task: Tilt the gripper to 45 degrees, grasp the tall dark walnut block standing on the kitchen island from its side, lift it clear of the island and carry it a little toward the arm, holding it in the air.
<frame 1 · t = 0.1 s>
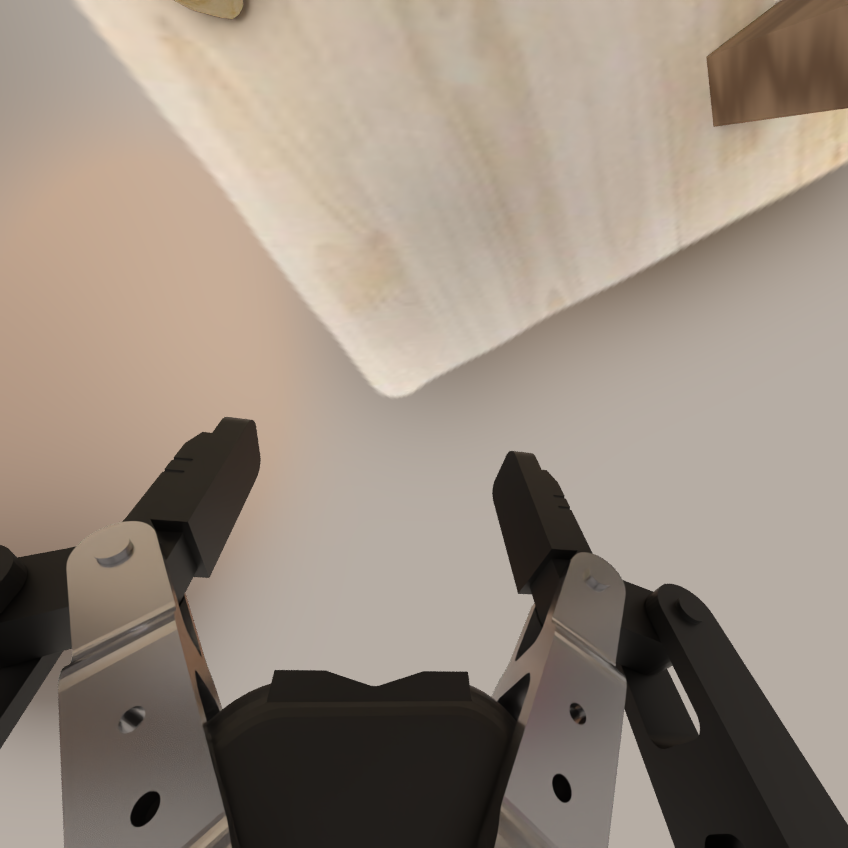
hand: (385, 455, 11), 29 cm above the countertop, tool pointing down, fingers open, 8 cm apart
walnut block: (744, 68, 27), on the countertop
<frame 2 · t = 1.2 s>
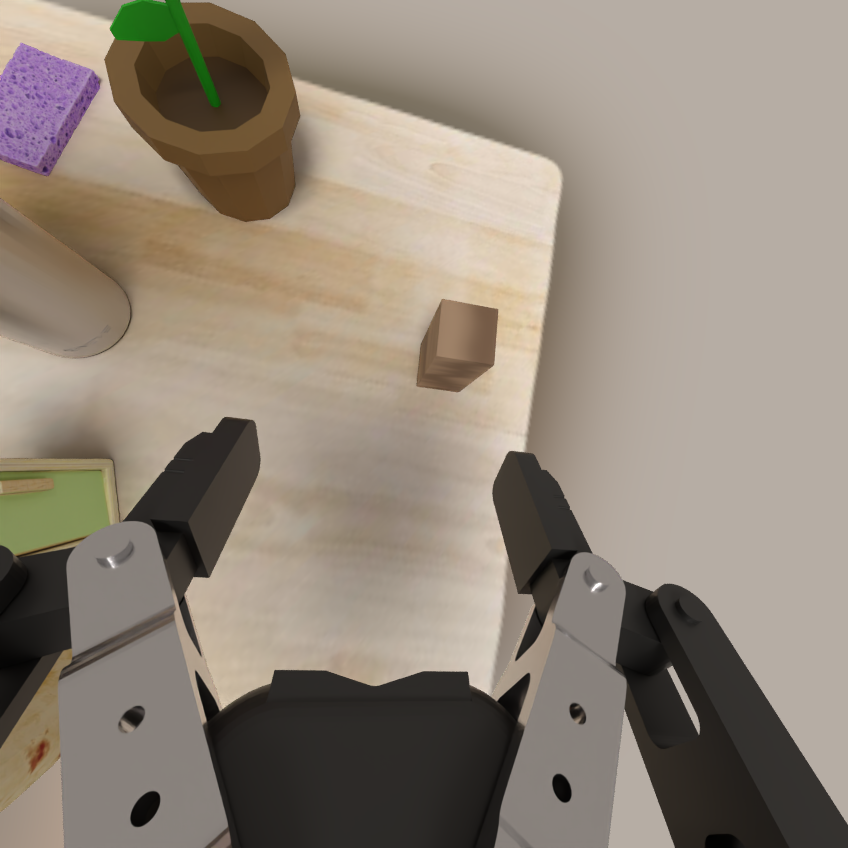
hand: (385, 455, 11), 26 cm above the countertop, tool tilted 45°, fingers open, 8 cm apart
toy refrigerator: (85, 505, 31), on the countertop
walnut block: (439, 368, 39), on the countertop
flowerpot: (248, 181, 38), on the countertop
sponges: (46, 121, 35), on the countertop
food model: (105, 651, 30), on the countertop
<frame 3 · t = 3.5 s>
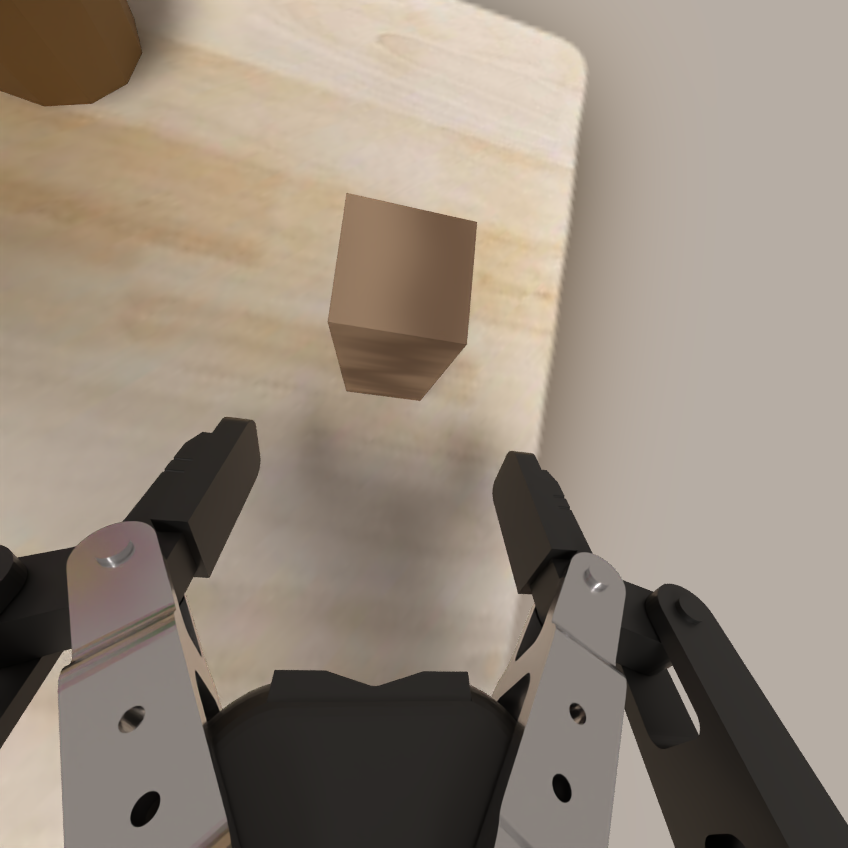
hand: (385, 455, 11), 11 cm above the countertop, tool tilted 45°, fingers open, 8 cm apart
walnut block: (387, 360, 23), on the countertop
flowerpot: (56, 41, 22), on the countertop
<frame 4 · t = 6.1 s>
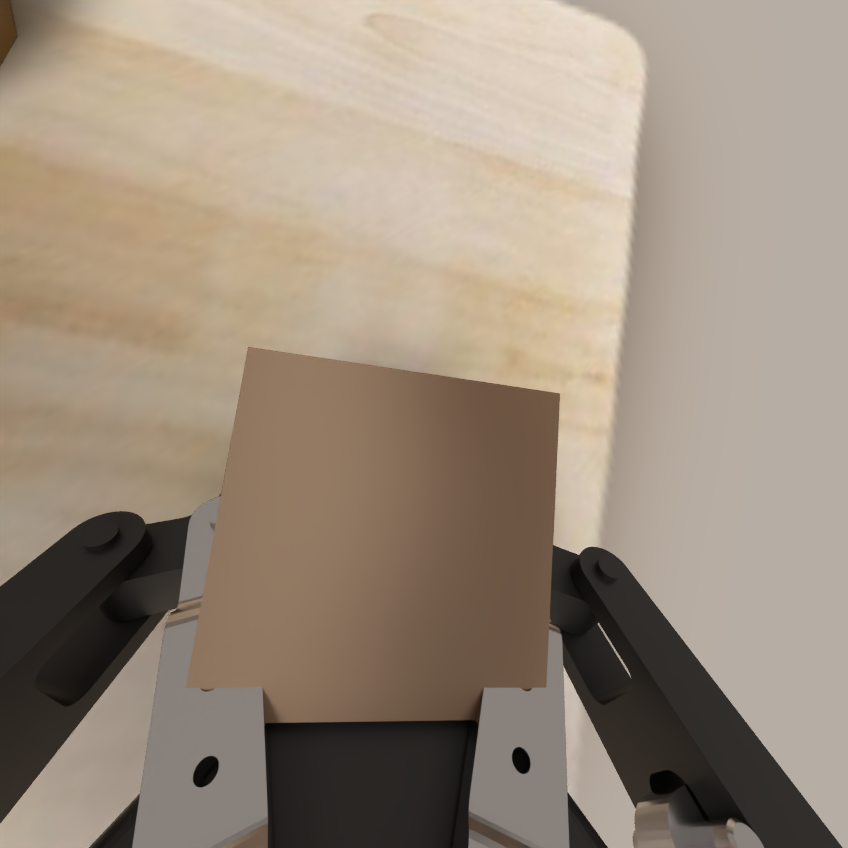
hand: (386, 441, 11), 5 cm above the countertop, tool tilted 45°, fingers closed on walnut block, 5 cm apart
walnut block: (376, 486, 16), on the countertop, touching gripper
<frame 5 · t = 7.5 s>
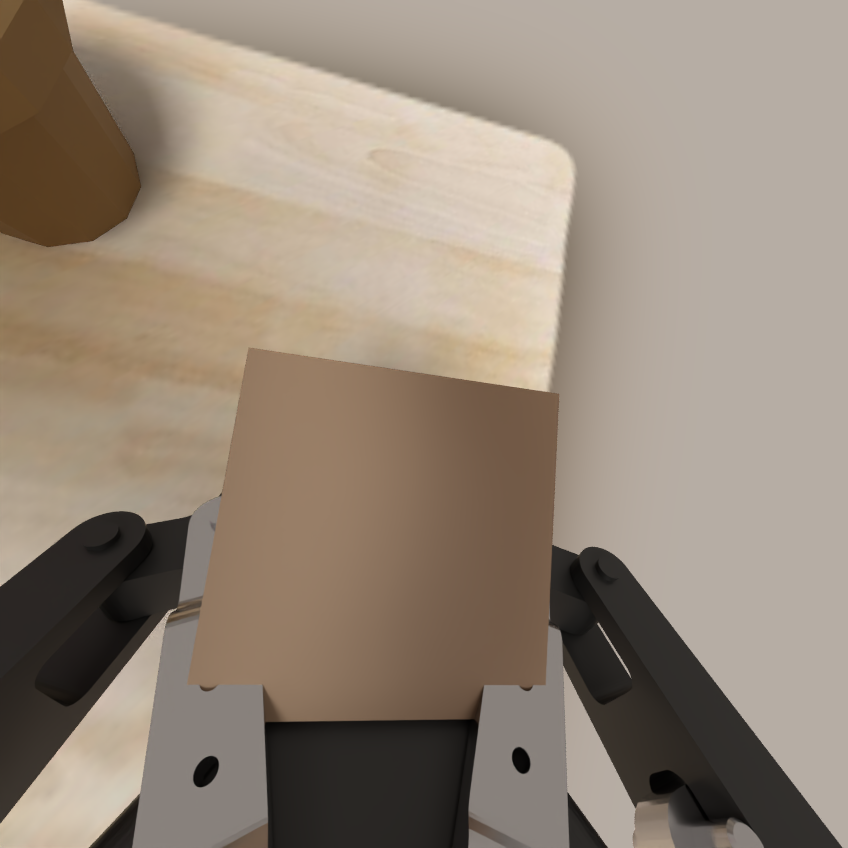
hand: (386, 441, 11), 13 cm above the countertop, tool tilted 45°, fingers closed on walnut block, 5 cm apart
walnut block: (376, 486, 16), point 8 cm above the countertop, touching gripper
flowerpot: (59, 180, 23), on the countertop
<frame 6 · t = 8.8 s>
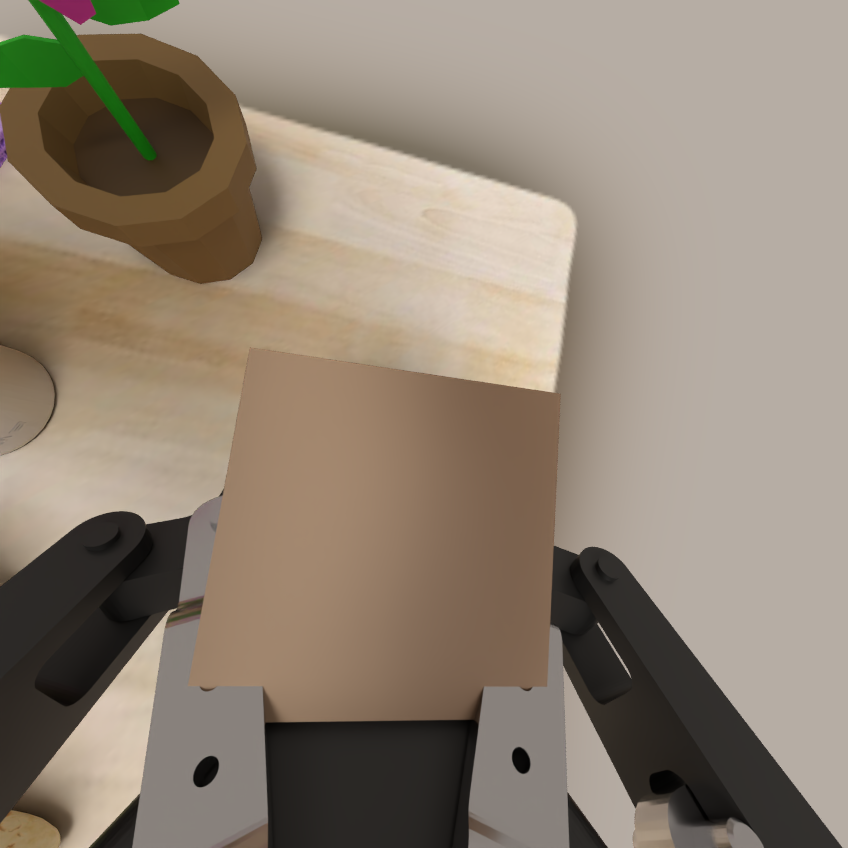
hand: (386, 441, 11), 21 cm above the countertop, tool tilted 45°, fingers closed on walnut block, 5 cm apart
walnut block: (377, 486, 16), point 16 cm above the countertop, touching gripper
flowerpot: (206, 234, 32), on the countertop
food model: (2, 835, 24), on the countertop
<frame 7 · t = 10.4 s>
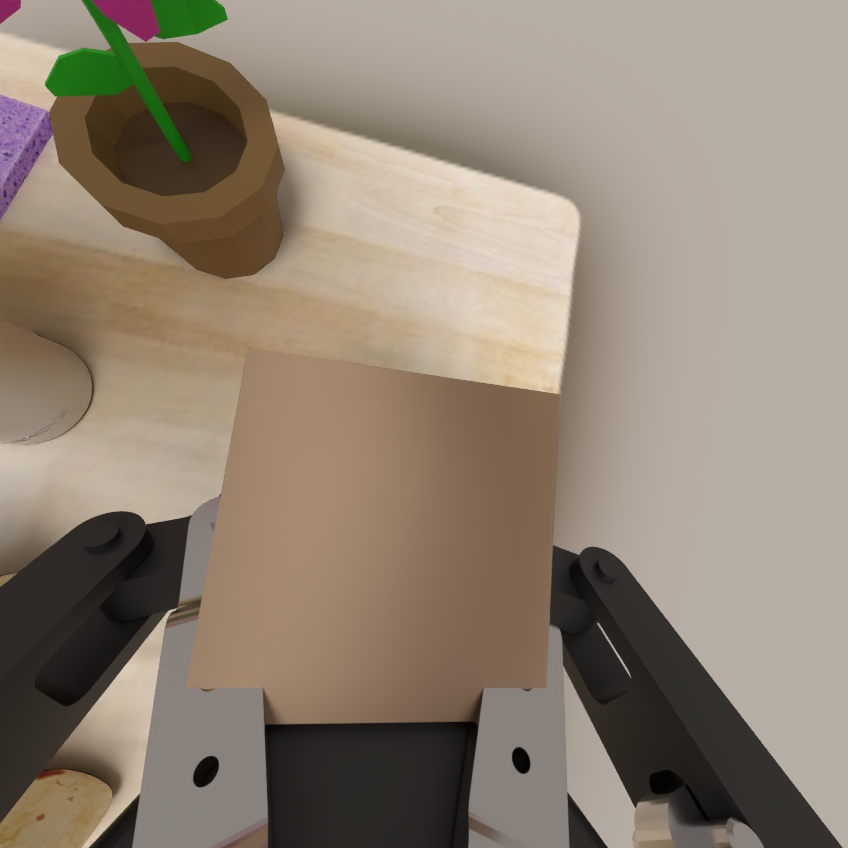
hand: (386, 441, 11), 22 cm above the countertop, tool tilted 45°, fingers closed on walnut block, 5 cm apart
walnut block: (376, 487, 16), point 17 cm above the countertop, touching gripper
flowerpot: (229, 231, 33), on the countertop
food model: (56, 793, 26), on the countertop
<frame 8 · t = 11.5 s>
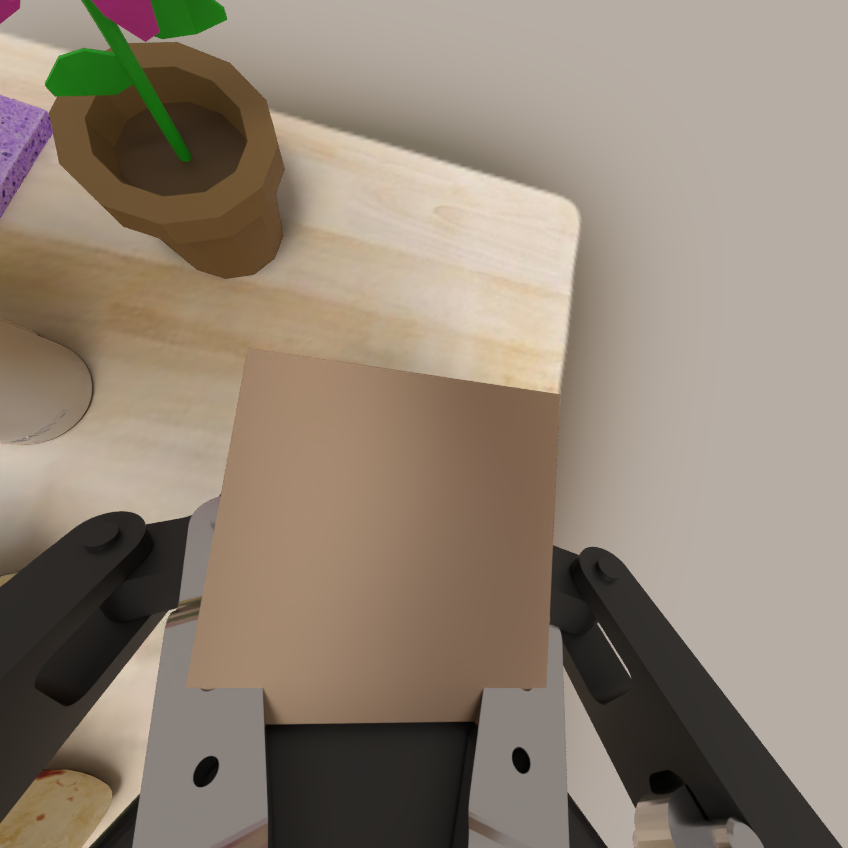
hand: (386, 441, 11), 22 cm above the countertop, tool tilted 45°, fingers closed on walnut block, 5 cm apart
walnut block: (376, 487, 16), point 17 cm above the countertop, touching gripper
flowerpot: (229, 231, 33), on the countertop
food model: (56, 793, 26), on the countertop
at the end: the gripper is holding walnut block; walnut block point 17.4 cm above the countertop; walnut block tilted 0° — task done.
